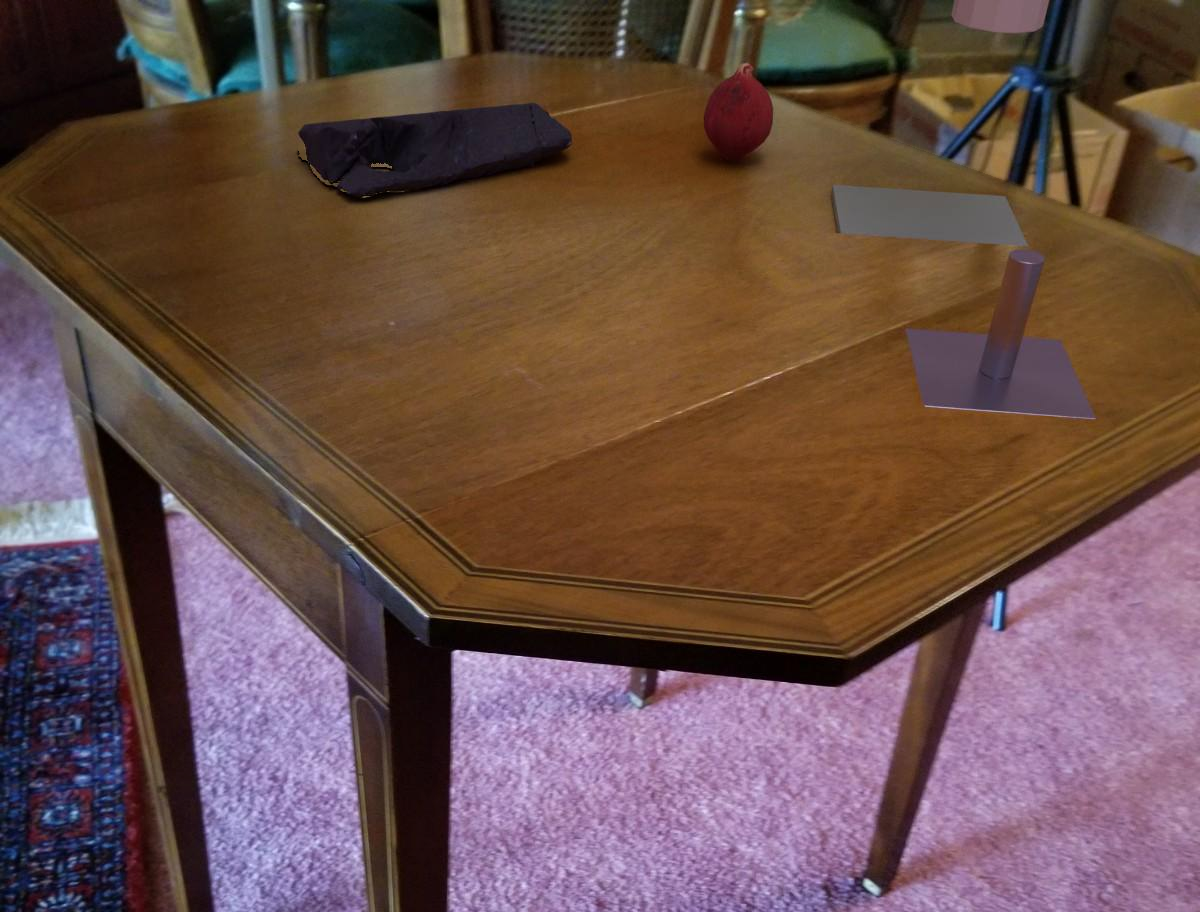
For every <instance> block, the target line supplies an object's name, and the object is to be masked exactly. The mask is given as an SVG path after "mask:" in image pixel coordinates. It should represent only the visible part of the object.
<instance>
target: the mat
mask: <svg viewBox="0 0 1200 912" xmlns="http://www.w3.org/2000/svg"><path fill="white" fill-rule="evenodd" d="M830 195H831V201H832V207H833V208H832V209H833V214H834V219H835V224H836V225H835V226H836V232H837V234H844V235H846V234H847V235H857V236H859V235H860V236H872V237H873V236H875V237H885V238H886V237H887V238H901V239H902V238H903V239H916V240H931V241H945V242H947V241H948V242H961V243H974V244H975V243H976V244H986V245H987V244H989V245H1004V246H1016V247H1018V246H1019V247H1029V244H1028V242H1027V240H1026V238H1025V235H1024V233H1023V231H1022V229H1021V227H1020V225H1019V222H1018V220H1017V218H1016V216H1015V213H1014V211H1013V210H1012V207H1011V205H1010V203H1009V202H1008V199H1007V196H1005V195H992V194H979V193H978V194H977V193H963V192H951V191H950V192H948V191H934V190H932V191H931V190H921V189H919V190H918V189H903V188H892V187H891V188H888V187H874V186H859V185H846V184H845V185H844V184H832V185H831V193H830Z"/></svg>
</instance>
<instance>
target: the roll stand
mask: <svg viewBox="0 0 1200 912" xmlns="http://www.w3.org/2000/svg"><path fill="white" fill-rule="evenodd" d="M1045 261H1046V258H1045V256H1044V255H1043V254H1042V253H1040V252H1039V251H1035V250H1032V249H1031V250H1030V249H1024V248H1023V249H1022V248H1019V249H1013V250H1011V251H1010V252H1009V254H1008V257H1007V261H1006V265H1005V269H1004V272H1003V277H1002V280H1001V284H1000V288H999V291H998V295H997V299H996V303H995V306H994V310H993V314H992V318H991V321H990V325H989V329H988V332H987V333H975V332H964V331H963V332H960V331H948V330H936V329H935V330H933V329H921V328H919V329H918V328H908V327H906V328H904V330H905V335H906V339H907V342H908V346H909V350H910V355H911V359H912V364H913V367H914V373H915V376H916V380H917V385H918V389H919V393H920V396H921V397H920V398H921V402H922V406H923V407H925V408H926V407H927V408H936V409H937V408H940V409H953V410H966V411H980V412H991V413H993V412H994V413H1004V414H1005V413H1007V414H1016V415H1017V414H1019V415H1030V416H1031V415H1032V416H1042V417H1043V416H1045V417H1056V418H1057V417H1058V418H1072V419H1085V420H1097V417H1096V415H1095V413H1094V410H1093V409H1092V406H1091V404H1090V402H1089V399H1088V397H1087V394H1086V392H1085V391H1084V388H1083V386H1082V384H1081V381H1080V379H1079V377H1078V375H1077V371H1075V368H1074V365H1073V364H1072V362H1071V360H1070V357H1069V355H1068V352H1067V351H1066V347H1065V345H1064V343H1063V340H1061V339H1060V338H1059V339H1058V338H1044V337H1030V336H1024V335H1025V331H1026V328H1027V325H1028V321H1029V318H1030V314H1031V310H1032V307H1033V303H1034V300H1035V296H1036V293H1037V290H1038V286H1039V282H1040V279H1041V275H1042V271H1043V268H1044V266H1045V265H1044V264H1045Z"/></svg>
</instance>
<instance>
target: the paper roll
mask: <svg viewBox="0 0 1200 912" xmlns="http://www.w3.org/2000/svg"><path fill="white" fill-rule="evenodd" d="M1049 3H1050V0H953V5H952V10H951V18H952V19H953V21H954V22H955V23H957V24H959V25H962V26H964V27H966V28H969V29H973V30H978V31H985V32H989V33H995V34H996V33H998V34H1014V35H1016V34H1024V33H1034V32H1037V31H1038V30H1039V29H1041V28H1042V27H1044V23H1045V20H1046V15H1047V11H1048V7H1049Z"/></svg>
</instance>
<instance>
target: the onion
mask: <svg viewBox="0 0 1200 912" xmlns="http://www.w3.org/2000/svg"><path fill="white" fill-rule="evenodd" d="M753 71H754V67H753V66H752V65H751V64H750V63H749V62H744V63H741V64H740V65H739V66H738V68H737V69H736V70H735V72H734V73H733V75H731V76H729V77H727V78H725V79H724V80H722V82H720V83H719V84H718V85H717V86H716V88H715V89H714V90H713V91H712V92H711V94H710V95H709V98H708V101H707V102H706V106H705V108H704V113H703V129H704V131H705V135H706V137H707V139H708V140H709V142H710V143H711V144H712V146H713V147H714V149H715V150H716V151H717V152H718V153H719V154H720V155H722V156H723V157H724V158H725V159H727V160H728V161H730V162H732V163H738V162H740V161H742V160H743V159H744V158H745V157H747V156H748V155H750V154H751V153H753V152H754V151H756V150H757V149H758V148H759V147H760V146H762V145H763V144H764V143H765V142H766V140H767V139H768V137H769V136H770V134H771V132H772V128H773V121H774V105H773V101H772V99H771V96H770V94H769V92H768V90H767V89H766V88H765V86H764V85H763V84H762V83H761V82H760V81H759V80H758V79H756V78H755V77H754V76H753Z"/></svg>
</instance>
